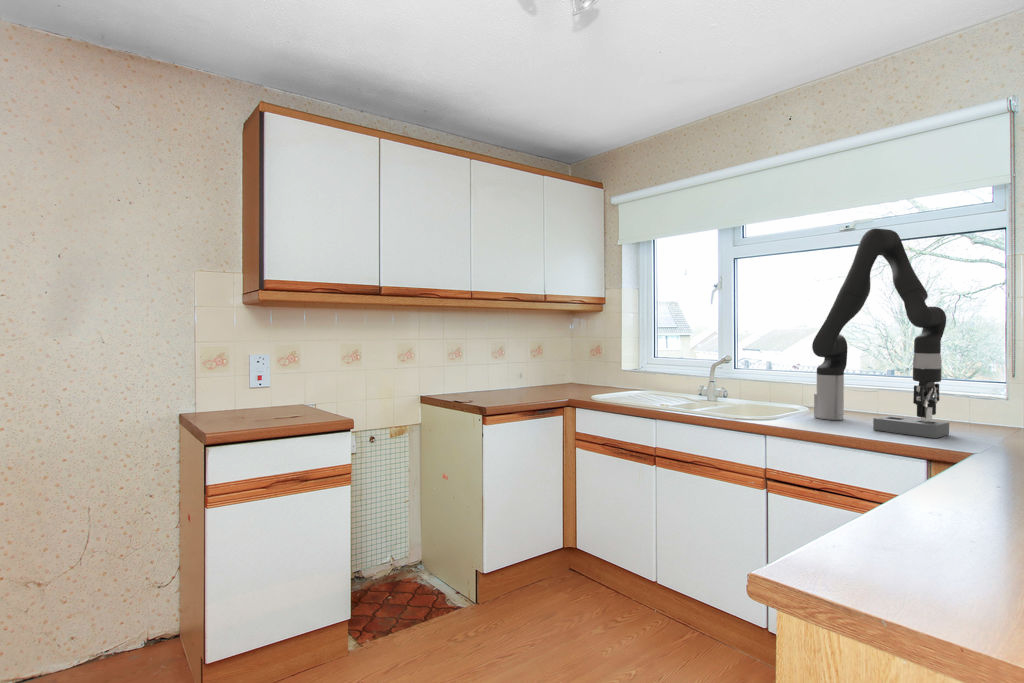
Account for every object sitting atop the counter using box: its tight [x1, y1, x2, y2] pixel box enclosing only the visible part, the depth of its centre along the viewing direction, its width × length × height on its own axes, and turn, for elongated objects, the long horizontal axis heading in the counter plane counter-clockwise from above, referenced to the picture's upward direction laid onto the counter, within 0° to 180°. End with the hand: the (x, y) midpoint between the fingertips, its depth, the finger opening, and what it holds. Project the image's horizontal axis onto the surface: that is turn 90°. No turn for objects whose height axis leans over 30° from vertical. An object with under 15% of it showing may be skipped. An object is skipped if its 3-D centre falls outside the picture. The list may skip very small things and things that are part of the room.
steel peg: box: [920, 406, 933, 424], centre depth 180 cm, size 3×3×9 cm
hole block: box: [872, 414, 950, 439], centre depth 183 cm, size 18×11×4 cm, turn 34°
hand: (926, 415), depth 180 cm, fingers open, 8 cm apart
